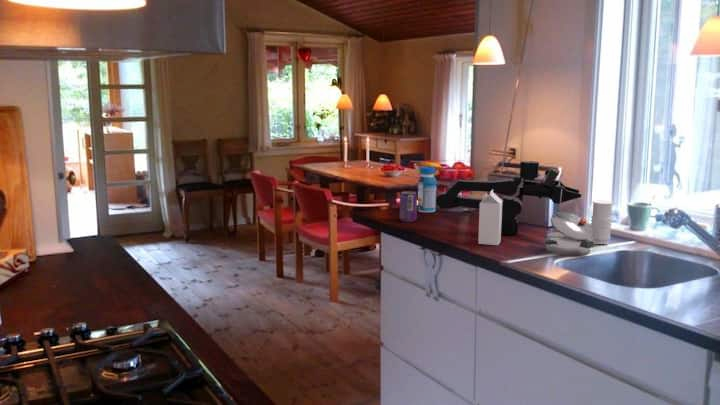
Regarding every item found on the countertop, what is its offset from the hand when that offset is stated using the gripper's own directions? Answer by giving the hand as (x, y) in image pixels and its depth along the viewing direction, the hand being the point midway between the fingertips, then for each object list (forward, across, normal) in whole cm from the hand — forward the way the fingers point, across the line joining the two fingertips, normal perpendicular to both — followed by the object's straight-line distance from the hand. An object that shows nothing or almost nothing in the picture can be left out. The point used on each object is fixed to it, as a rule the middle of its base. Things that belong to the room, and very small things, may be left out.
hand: (580, 193), depth 236 cm
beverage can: (-65, +15, +21) cm, 70 cm away
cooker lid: (-4, -22, +8) cm, 24 cm away
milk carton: (-30, -16, +19) cm, 39 cm away
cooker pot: (-3, -22, +17) cm, 28 cm away
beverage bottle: (-61, +39, +20) cm, 75 cm away
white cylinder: (+8, -7, +16) cm, 20 cm away
